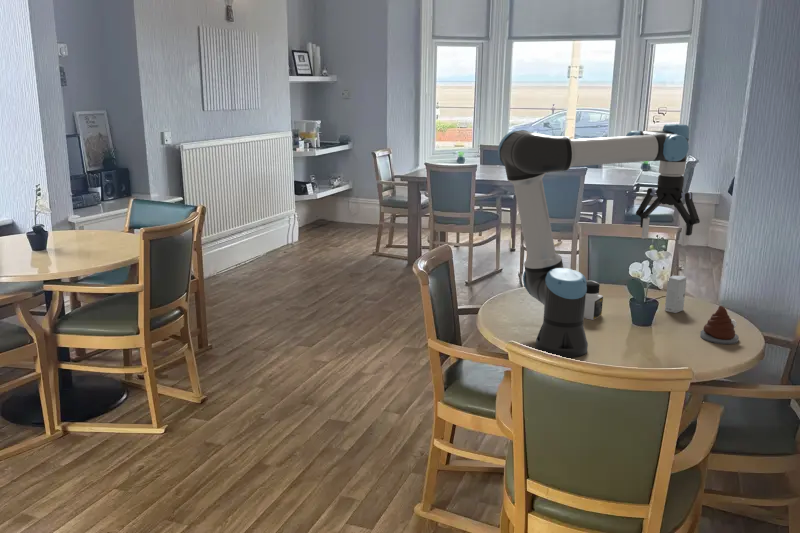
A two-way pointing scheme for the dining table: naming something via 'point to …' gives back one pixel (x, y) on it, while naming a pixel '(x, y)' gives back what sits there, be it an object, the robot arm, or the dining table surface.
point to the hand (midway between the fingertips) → (664, 241)
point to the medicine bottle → (593, 301)
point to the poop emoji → (721, 325)
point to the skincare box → (675, 294)
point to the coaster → (718, 341)
